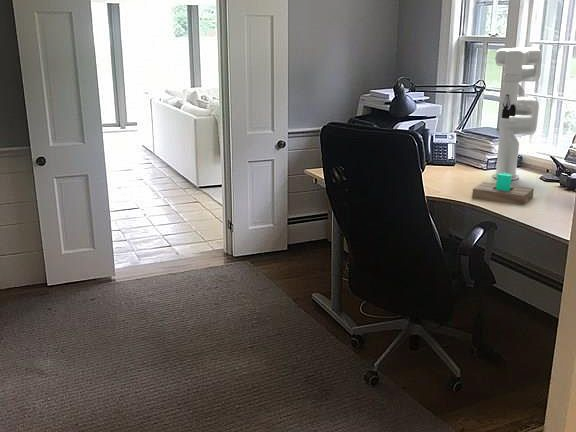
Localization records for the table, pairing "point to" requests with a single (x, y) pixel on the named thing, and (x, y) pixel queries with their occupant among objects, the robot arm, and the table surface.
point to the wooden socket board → (503, 193)
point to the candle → (503, 181)
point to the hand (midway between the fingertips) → (508, 117)
